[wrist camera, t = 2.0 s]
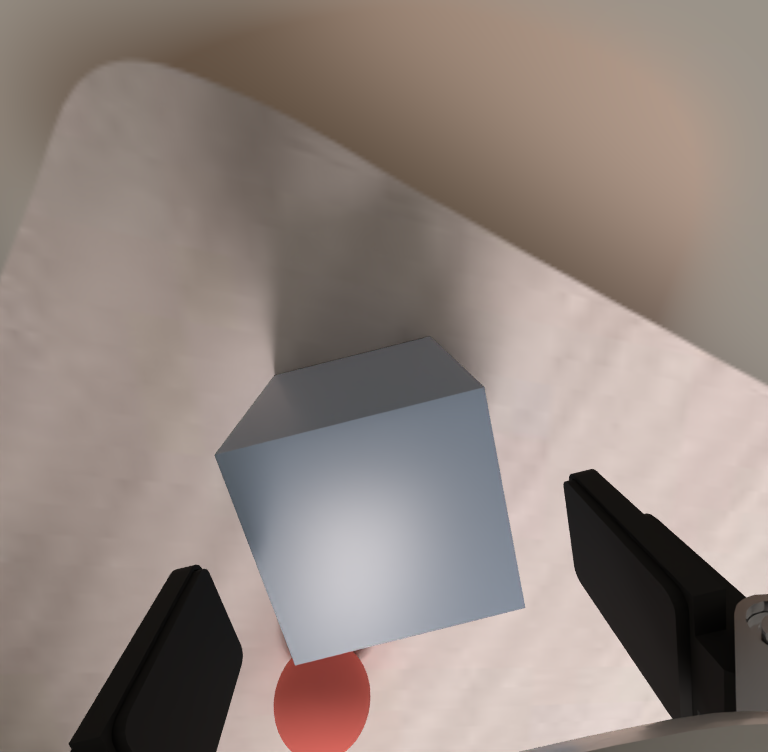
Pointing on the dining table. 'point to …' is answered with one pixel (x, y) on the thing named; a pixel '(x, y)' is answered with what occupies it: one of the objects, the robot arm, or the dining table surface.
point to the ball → (322, 703)
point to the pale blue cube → (373, 500)
